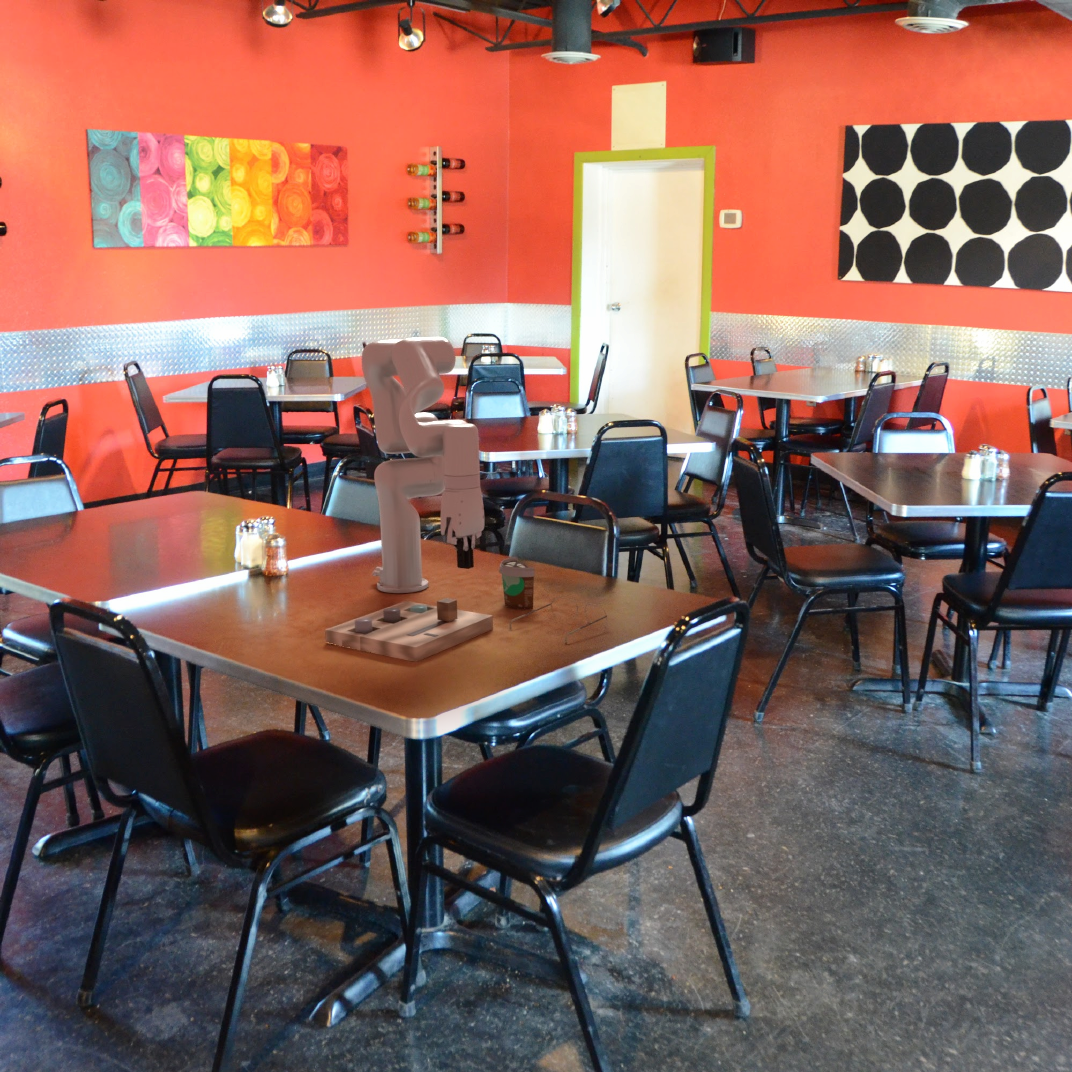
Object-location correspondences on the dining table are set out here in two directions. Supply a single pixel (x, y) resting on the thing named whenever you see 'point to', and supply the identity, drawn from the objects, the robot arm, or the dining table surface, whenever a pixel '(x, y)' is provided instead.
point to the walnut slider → (447, 609)
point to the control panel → (411, 632)
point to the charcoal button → (391, 615)
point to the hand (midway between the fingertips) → (465, 567)
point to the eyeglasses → (572, 618)
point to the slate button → (363, 625)
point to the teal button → (419, 608)
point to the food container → (517, 584)
